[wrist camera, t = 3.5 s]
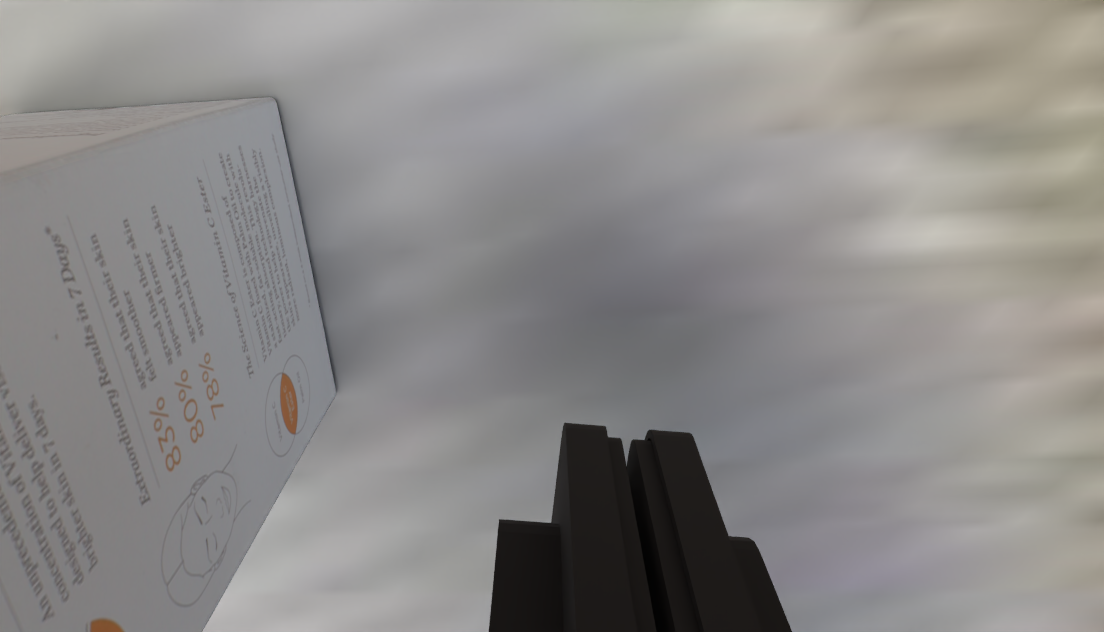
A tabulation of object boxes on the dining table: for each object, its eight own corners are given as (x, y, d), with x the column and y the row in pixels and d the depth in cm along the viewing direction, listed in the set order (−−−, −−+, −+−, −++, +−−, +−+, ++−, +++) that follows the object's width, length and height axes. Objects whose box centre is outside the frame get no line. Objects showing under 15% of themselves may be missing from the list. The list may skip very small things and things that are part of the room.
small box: (12, 110, 17) (-1306, 332, 5) (281, 92, 17) (-384, 272, 5) (114, 413, 20) (-541, 1009, 8) (342, 398, 20) (29, 980, 8)
